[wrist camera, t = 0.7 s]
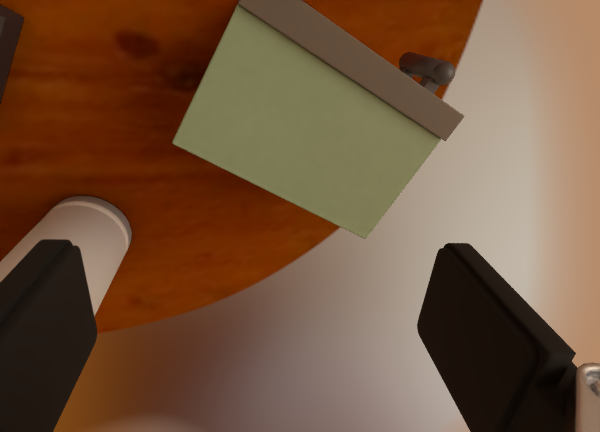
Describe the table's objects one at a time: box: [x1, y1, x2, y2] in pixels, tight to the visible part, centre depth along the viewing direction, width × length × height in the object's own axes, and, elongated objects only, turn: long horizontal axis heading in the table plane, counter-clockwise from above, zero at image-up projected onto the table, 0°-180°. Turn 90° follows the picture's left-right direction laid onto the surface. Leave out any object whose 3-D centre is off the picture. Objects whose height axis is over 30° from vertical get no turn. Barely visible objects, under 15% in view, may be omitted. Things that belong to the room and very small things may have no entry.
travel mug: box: [0, 196, 132, 316], centre depth 22 cm, size 6×7×20 cm
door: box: [399, 52, 455, 94], centre depth 23 cm, size 3×6×9 cm, turn 58°
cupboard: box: [172, 0, 464, 239], centre depth 23 cm, size 8×12×10 cm
